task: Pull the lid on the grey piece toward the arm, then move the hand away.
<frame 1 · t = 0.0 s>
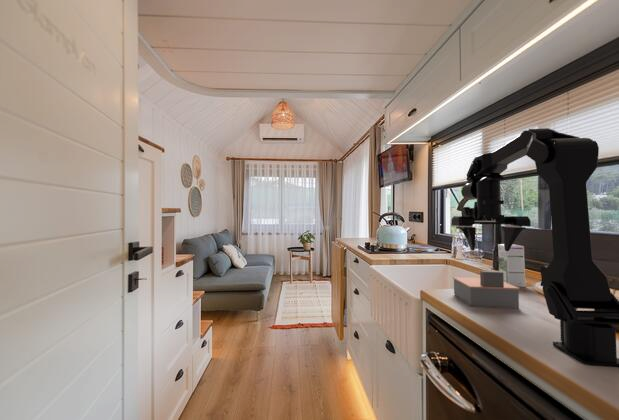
hand: (489, 250, 72), 15 cm above the counter, fingers open, 9 cm apart
lid: (483, 276, 72), point 7 cm above the counter, slide at 0.0 cm
syrup box: (511, 285, 89), on the counter
grey piece: (483, 301, 71), on the counter
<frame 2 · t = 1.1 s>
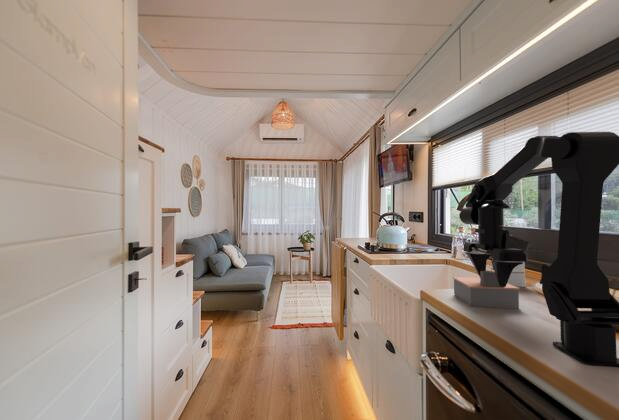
hand: (491, 282, 68), 7 cm above the counter, fingers open, 9 cm apart
nothing on the counter moved.
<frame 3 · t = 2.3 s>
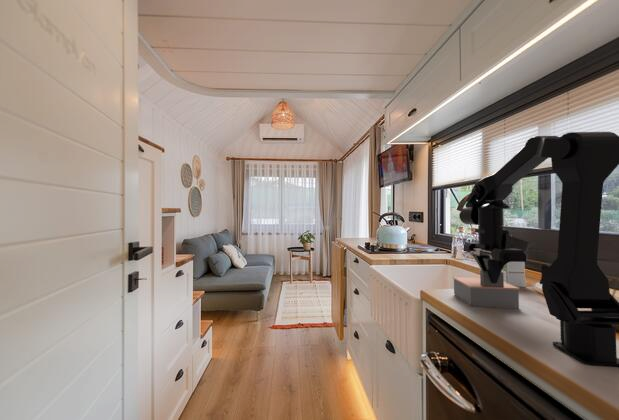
hand: (491, 282, 68), 7 cm above the counter, fingers closed on lid, 2 cm apart
lid: (483, 276, 72), point 7 cm above the counter, slide at 0.0 cm, touching gripper
everything else where it was.
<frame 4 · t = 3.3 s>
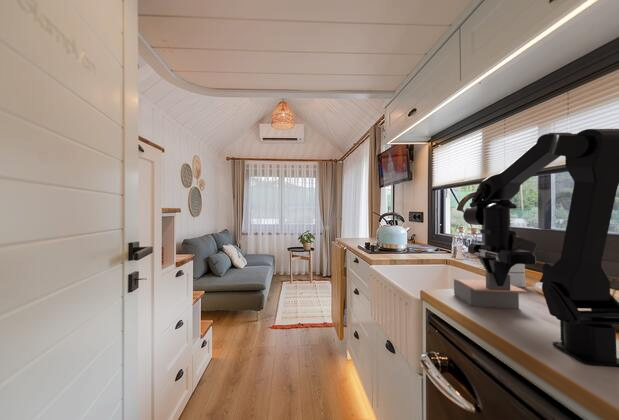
hand: (497, 285, 65), 6 cm above the counter, fingers closed on lid, 2 cm apart
lid: (488, 278, 69), point 7 cm above the counter, slide at 2.6 cm, touching gripper
everything else where it was.
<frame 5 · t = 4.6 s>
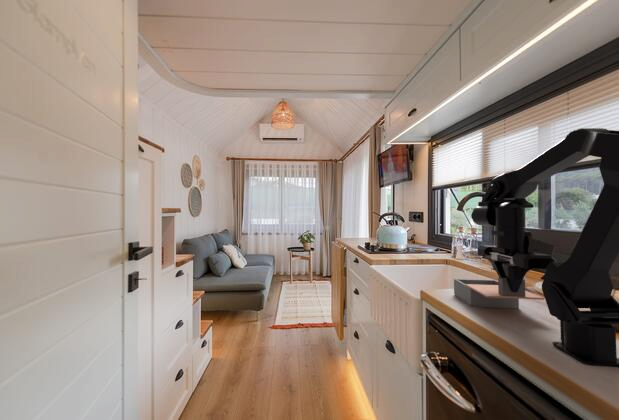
hand: (511, 291, 60), 6 cm above the counter, fingers closed on lid, 2 cm apart
lid: (500, 283, 64), point 7 cm above the counter, slide at 7.9 cm, touching gripper
everything else where it was.
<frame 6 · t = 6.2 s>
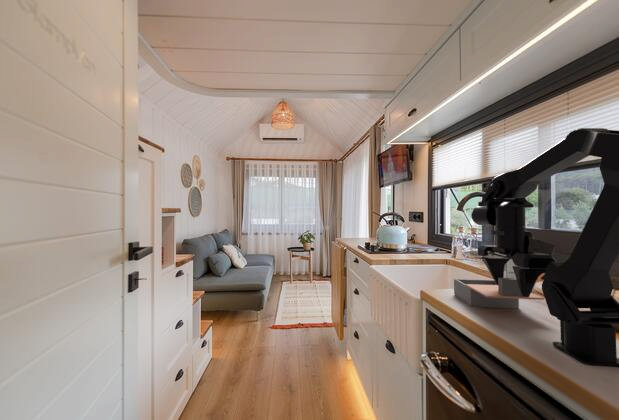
hand: (511, 290, 60), 7 cm above the counter, fingers open, 9 cm apart
lid: (500, 283, 64), point 7 cm above the counter, slide at 7.9 cm
everything else where it was.
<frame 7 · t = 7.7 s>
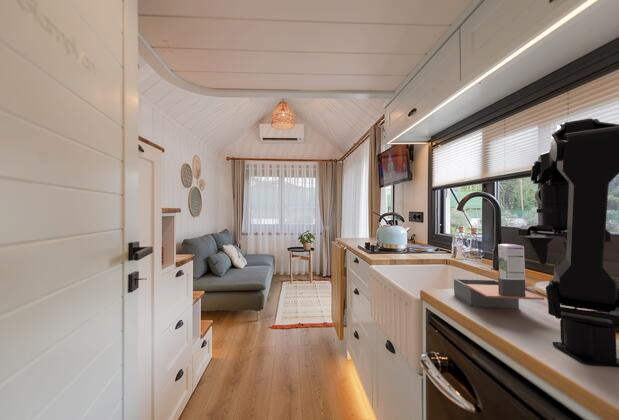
hand: (558, 267, 60), 12 cm above the counter, fingers open, 9 cm apart
nothing on the counter moved.
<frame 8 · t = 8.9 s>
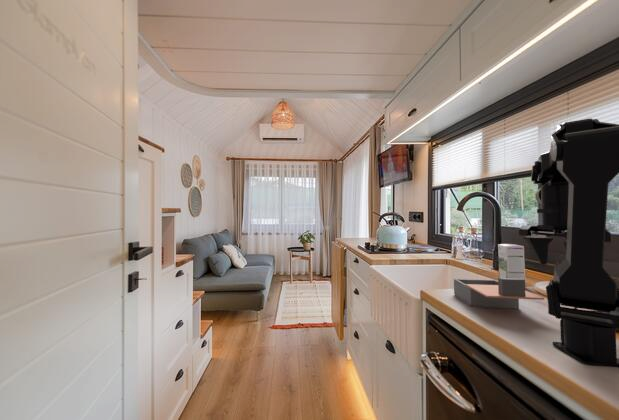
hand: (559, 267, 60), 12 cm above the counter, fingers open, 9 cm apart
nothing on the counter moved.
at the end: lid slide at 7.9 cm; the gripper is holding nothing; syrup box moved 0.2 cm from its start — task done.
